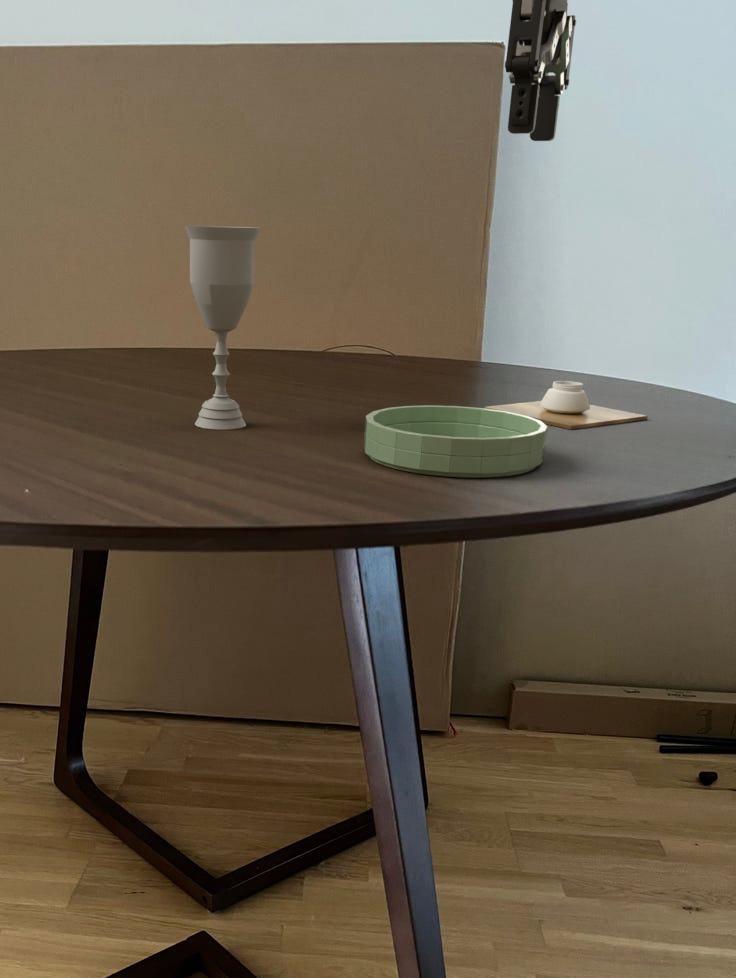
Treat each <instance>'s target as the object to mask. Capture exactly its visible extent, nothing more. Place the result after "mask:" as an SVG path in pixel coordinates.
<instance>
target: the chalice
mask: <svg viewBox="0 0 736 978" xmlns="http://www.w3.org/2000/svg"><path fill="white" fill-rule="evenodd" d="M184 228H185V230H186V231H185V232H186V233H187V235H188V237H189V283H190V288H191V290H192V294H193V297H194V300H195V303H196V306H197V309H198V311H199V312H200V313H199V314H200V315H201V317H202V319H203V322H204V324H205V326H206V328H207V329H208V330H210V331H212V332H214V333H215V339H216V344H215V347H214V348H215V349H214V351H213V352H212V355H213V356H214V359H215V363H216V365H215V368H214V371H213V372H212V373H211V375H212V376H213V377H214V381H215V385H216V387H215V391H214V394H212V398H209V399H206V400H205V401H204V402H203V403H202V405H201V409H200V411H199V412H198V417H197V419H196V420H195V423H194V425H195V426H196V427H197V428H201V429H208V430H236V429H243V428H245V427H246V426H247V423H246V422H245V420H244V419H243V413H242V411H241V410H240V405H239V404H238V402H237V401H236V400H234V399H231V398H230V397H229V396H230V394H228V393H227V387H226V385H227V379H228V377H229V376H230V375H231V373H230V372H229V371H228V368H227V360H228V357H229V356H230V352H229V350H228V346H227V337H228V333H230V332H232V331H234V330H235V329H237V328H238V325H239V323H240V321H241V319H242V317H243V315H244V312H245V310H246V308H247V306H248V303H249V300H250V297H251V294H252V291H253V287H254V285H255V257H256V255H255V254H256V253H255V251H256V239H257V237H258V236H259V235H258V234H259V233H260V230H261V227H255V226H254V227H253V226H251V227H250V226H248V227H247V226H221V225H219V226H218V225H217V226H215V225H184Z"/></svg>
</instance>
